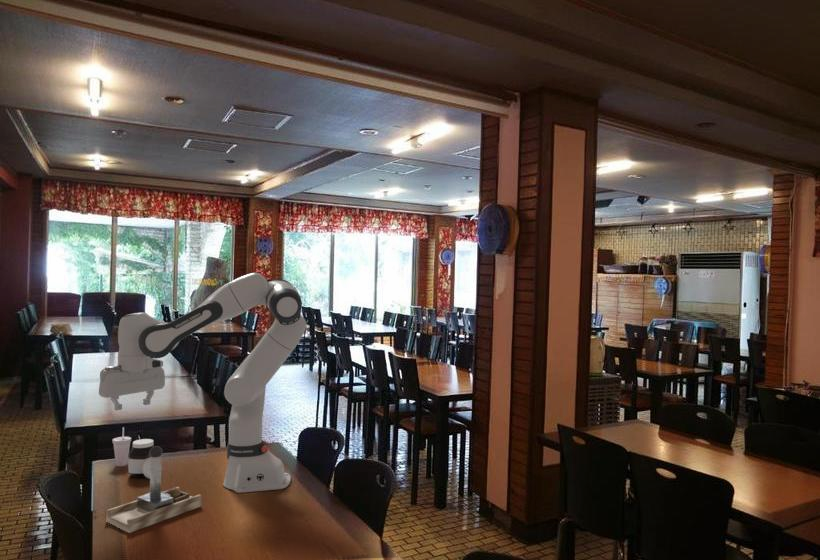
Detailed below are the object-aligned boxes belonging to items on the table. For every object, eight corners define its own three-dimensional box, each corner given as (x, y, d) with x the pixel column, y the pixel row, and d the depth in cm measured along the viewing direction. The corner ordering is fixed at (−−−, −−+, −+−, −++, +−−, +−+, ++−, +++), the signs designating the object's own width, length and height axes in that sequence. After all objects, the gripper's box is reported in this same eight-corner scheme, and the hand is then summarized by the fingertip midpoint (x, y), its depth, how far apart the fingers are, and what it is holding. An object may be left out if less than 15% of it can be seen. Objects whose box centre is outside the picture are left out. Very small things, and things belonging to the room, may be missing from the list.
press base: (129, 533, 160) (129, 519, 160) (106, 522, 167) (106, 508, 167) (201, 506, 179) (201, 494, 179) (177, 497, 186) (177, 485, 186)
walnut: (182, 498, 180) (182, 485, 180) (178, 503, 176) (178, 490, 176) (168, 498, 179) (169, 485, 179) (164, 503, 175) (164, 490, 175)
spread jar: (139, 469, 212) (139, 437, 212) (169, 469, 212) (170, 438, 211) (121, 480, 200) (122, 447, 200) (154, 481, 200) (154, 447, 200)
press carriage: (154, 513, 168) (155, 451, 168) (137, 506, 173) (137, 446, 173) (175, 506, 173) (176, 446, 173) (158, 499, 178) (158, 440, 178)
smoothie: (123, 468, 213) (123, 430, 213) (108, 466, 214) (108, 428, 214) (134, 462, 219) (135, 425, 219) (120, 461, 220) (120, 424, 220)
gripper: (105, 368, 173) (105, 414, 174) (167, 361, 190) (167, 403, 190) (94, 366, 177) (94, 411, 177) (156, 359, 194) (156, 400, 194)
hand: (132, 407), depth 184 cm, fingers open, 8 cm apart
